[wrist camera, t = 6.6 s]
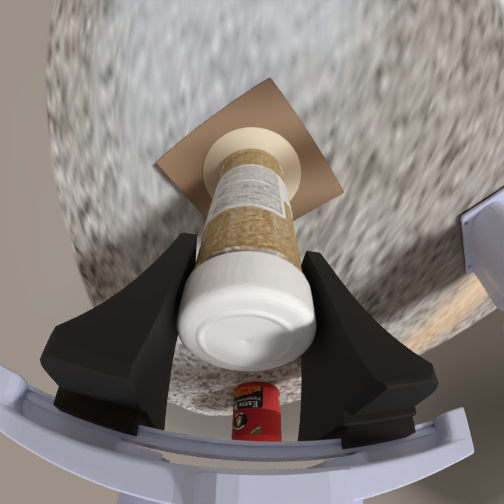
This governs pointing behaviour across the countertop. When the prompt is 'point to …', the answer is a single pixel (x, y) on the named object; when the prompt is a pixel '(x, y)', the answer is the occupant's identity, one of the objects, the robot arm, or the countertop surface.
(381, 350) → the robot arm
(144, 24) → the countertop surface
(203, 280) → the spice jar
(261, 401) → the canned food
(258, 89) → the spice coaster
